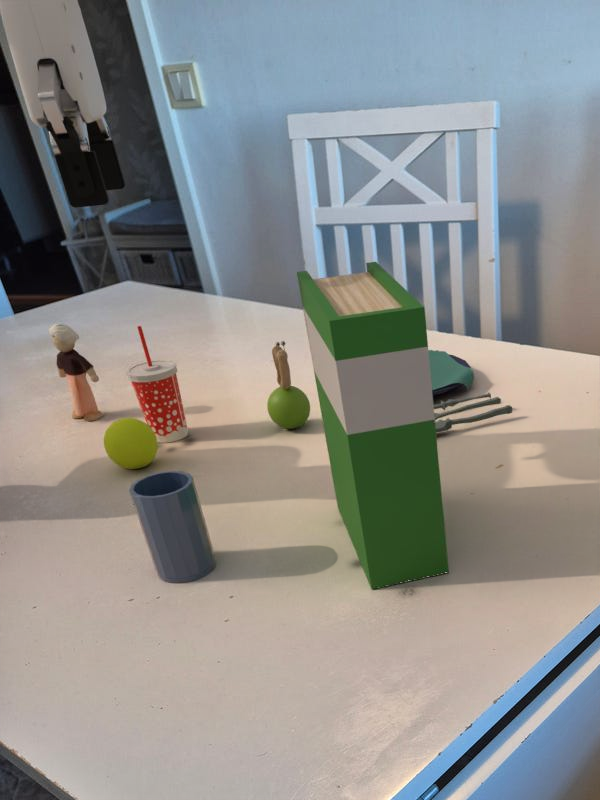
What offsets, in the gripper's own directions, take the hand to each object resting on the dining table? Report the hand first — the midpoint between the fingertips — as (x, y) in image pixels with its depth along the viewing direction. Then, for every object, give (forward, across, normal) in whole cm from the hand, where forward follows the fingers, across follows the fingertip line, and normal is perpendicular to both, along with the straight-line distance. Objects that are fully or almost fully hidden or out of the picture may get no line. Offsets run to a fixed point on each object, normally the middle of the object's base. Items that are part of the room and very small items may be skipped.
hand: (100, 197), depth 77 cm
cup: (+31, +16, +1) cm, 34 cm away
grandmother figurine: (+30, -31, -16) cm, 46 cm away
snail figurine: (+31, -17, +12) cm, 37 cm away
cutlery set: (+31, -23, +29) cm, 48 cm away
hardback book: (+31, +16, +21) cm, 41 cm away
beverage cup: (+31, -20, -4) cm, 37 cm away
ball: (+27, -11, -7) cm, 30 cm away
